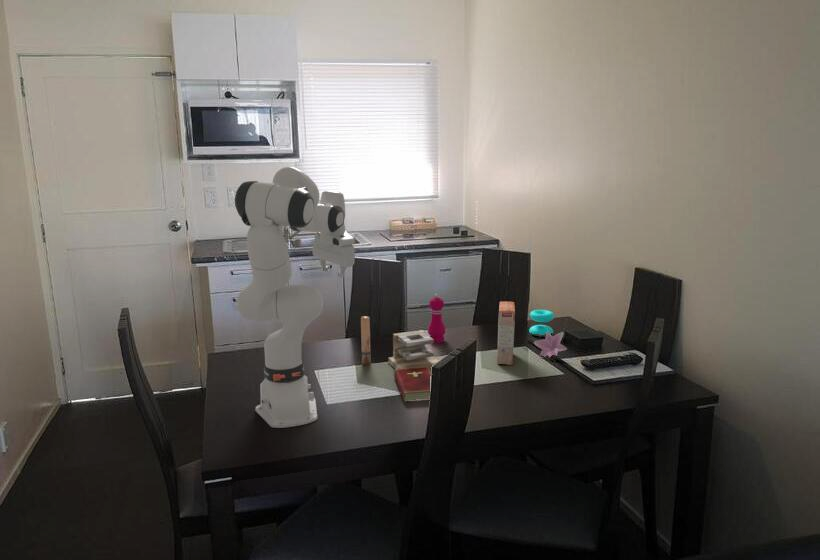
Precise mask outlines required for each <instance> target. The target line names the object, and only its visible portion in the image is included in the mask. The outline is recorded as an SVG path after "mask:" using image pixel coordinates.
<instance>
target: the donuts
mask: <svg viewBox="0 0 820 560" xmlns="http://www.w3.org/2000/svg"><path fill="white" fill-rule="evenodd" d="M529 317H530V319H531V320H533V321H534V322H538V323H548V322H551V321H552V320H554V317H555V314H554V312H553V311H551V310H547V309H535V310H531V311H530V312H529ZM547 331H548V332H549V333H550V334H551V333H553V334H554V330H553V328H552V327H551V326H549V325H545V324H534V325H532V326H530V328H529V332H530V333H532V334H539V335H545V334H546V332H547ZM530 333H529V334H530Z"/></svg>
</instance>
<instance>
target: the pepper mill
mask: <svg viewBox="0 0 820 560" xmlns="http://www.w3.org/2000/svg"><path fill="white" fill-rule="evenodd" d="M428 303H429V305H428V306H429V307H430V314H431V320H430V322H429V325H428V327H427V333H428V336H429V337H431V338H432V339H434V343H433V344H441V343H440V342H442V343H444V342H445V334H446V326H445V325H444V322H443V319H442V315H443V313H444V312H443V311H444V310H443V308H444V306H445V301H444V300H443V298H441V297H440V296H439V294H438V293H435V294H434V297H432V298H431V299H430V300H429V302H428ZM443 341H444V342H443Z"/></svg>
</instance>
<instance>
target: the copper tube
mask: <svg viewBox="0 0 820 560" xmlns="http://www.w3.org/2000/svg"><path fill="white" fill-rule="evenodd" d="M370 317H371V316H365V315H363V316H360V337H361V339H360V340H361V364H362V366H370V365H372V364H371V363H372V362H371V353H372V352H371V328H370V327H371V326H370V323H371V321H370V319H371V318H370Z"/></svg>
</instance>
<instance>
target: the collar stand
mask: <svg viewBox="0 0 820 560" xmlns="http://www.w3.org/2000/svg"><path fill="white" fill-rule="evenodd" d="M429 336H430V335H429V334H427V333H426V331H425V330H423V329H419V330H413V331H406V332H405V331H404V332H397V333H392V348H393V349H392V350H393V352H392V354H393V355H392V356H391V357H388V362H387V363H389V365H390V366H392V368H394V370H395V369H404V368H419V367H428V368H429V370H431V367H432V365H434V364H435V363H436V362H438V361H440V360H439V359H438V358H436V357H435V356H434V355H435V354H434V353H435V352H433V350H431V349H430V348H428V347H427V346H426V345H432V344H435V343H434V339H432V338H431V337H429Z"/></svg>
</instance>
